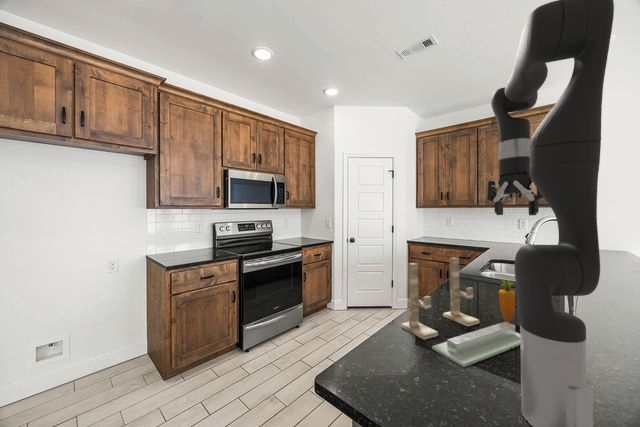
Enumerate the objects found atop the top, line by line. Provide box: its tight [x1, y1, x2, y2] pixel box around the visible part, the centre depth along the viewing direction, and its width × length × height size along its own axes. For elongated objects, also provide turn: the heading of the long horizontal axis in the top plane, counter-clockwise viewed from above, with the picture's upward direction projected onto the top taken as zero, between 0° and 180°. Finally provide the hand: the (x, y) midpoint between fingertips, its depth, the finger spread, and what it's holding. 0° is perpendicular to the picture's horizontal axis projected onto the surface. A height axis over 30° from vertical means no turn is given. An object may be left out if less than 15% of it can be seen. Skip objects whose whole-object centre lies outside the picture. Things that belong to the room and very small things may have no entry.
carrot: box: [498, 278, 516, 323], centre depth 92 cm, size 5×5×15 cm
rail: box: [446, 321, 516, 355], centre depth 78 cm, size 3×26×3 cm, turn 114°
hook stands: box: [400, 257, 480, 341], centre depth 91 cm, size 10×26×22 cm, turn 114°
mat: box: [431, 331, 520, 368], centre depth 78 cm, size 10×30×1 cm, turn 114°
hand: (515, 215), depth 74 cm, fingers open, 8 cm apart
